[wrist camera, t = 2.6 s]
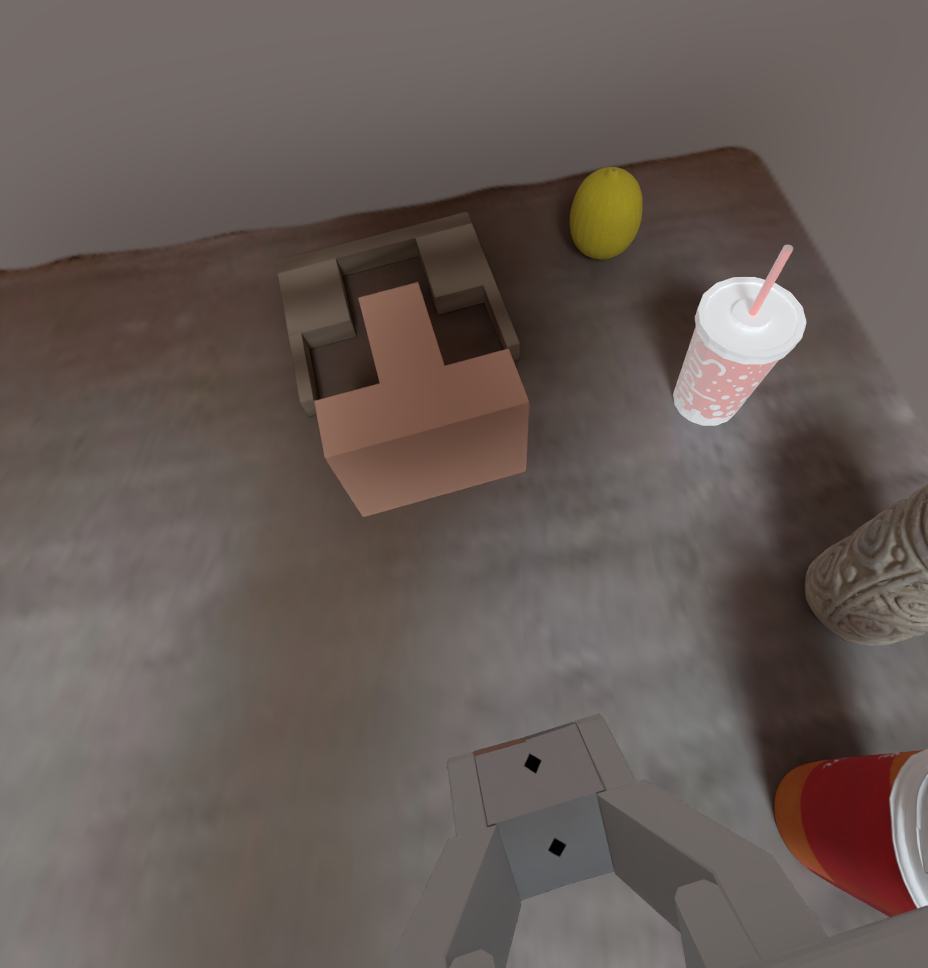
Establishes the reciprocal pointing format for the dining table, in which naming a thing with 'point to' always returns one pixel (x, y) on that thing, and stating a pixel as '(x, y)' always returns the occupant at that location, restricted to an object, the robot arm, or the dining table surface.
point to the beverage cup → (736, 344)
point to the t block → (422, 414)
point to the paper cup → (861, 826)
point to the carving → (876, 577)
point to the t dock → (318, 275)
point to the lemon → (606, 213)
